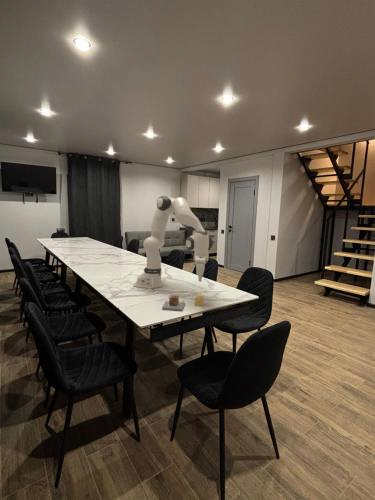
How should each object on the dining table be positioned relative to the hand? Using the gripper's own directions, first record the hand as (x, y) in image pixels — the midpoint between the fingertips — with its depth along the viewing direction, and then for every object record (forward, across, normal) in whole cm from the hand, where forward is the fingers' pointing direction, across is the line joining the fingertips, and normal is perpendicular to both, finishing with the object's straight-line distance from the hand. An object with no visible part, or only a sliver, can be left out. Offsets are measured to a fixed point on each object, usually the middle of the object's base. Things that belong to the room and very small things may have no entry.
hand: (200, 279), depth 167 cm
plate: (+16, +8, -15) cm, 23 cm away
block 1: (+15, +8, -15) cm, 23 cm away
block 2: (+16, 0, 0) cm, 16 cm away
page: (+16, -4, -16) cm, 23 cm away
